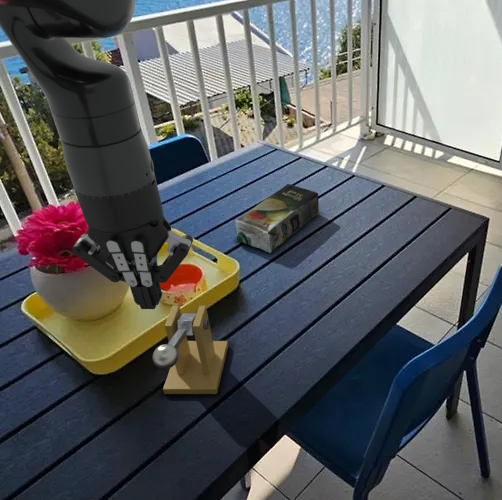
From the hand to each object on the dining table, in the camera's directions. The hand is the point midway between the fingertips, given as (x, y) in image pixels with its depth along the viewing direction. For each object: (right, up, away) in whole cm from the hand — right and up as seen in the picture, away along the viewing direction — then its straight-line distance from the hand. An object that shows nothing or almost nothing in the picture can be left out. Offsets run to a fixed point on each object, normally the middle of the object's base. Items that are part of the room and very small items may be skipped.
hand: (150, 304), depth 60 cm
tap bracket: (-1, -13, +21) cm, 24 cm away
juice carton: (+8, +12, +55) cm, 56 cm away
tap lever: (0, -8, +11) cm, 13 cm away
